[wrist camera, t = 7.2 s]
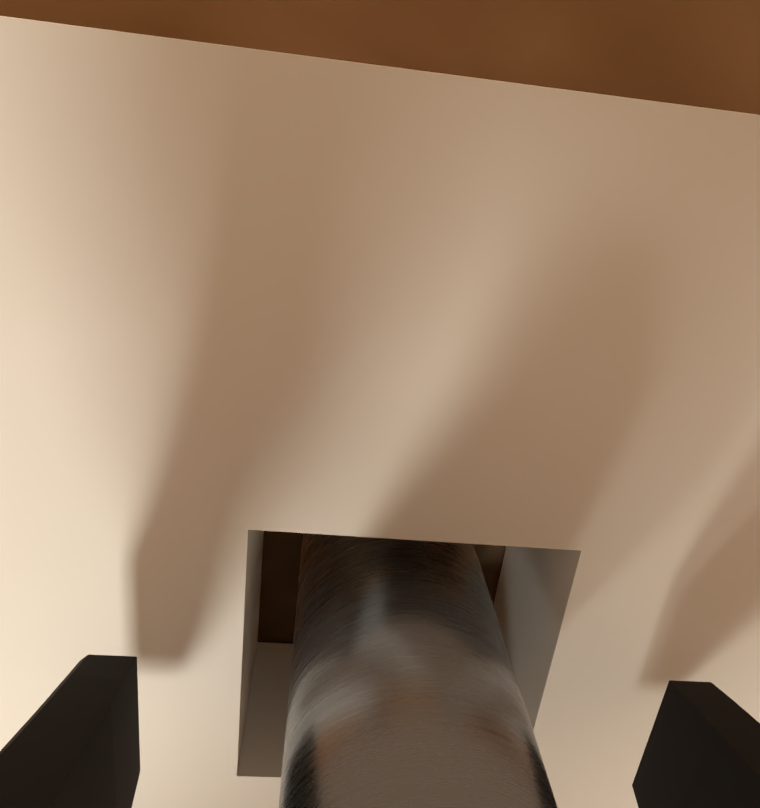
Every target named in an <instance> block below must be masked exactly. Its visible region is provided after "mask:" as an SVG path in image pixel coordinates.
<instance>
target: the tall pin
mask: <svg viewBox="0 0 760 808" xmlns="http://www.w3.org/2000/svg"><path fill="white" fill-rule="evenodd" d="M279 808H558V807H557V804H556V801H555V798H554V795H553V792H552V788H551V785H550V782H549V779H548V776H547V773H546V770H545V766H544V763H543V760H542V757H541V754H540V751H539V748H538V744H537V741H536V738H535V735H534V732H533V729H532V726H531V723H530V719H529V716H528V713H527V710H526V707H525V704H524V701H523V697H522V694H521V691H520V688H519V685H518V682H517V679H516V675H515V672H514V669H513V666H512V663H511V660H510V657H509V653H508V650H507V647H506V644H505V641H504V638H503V635H502V631H501V628H500V625H499V622H498V619H497V616H496V613H495V609H494V606H493V603H492V600H491V597H490V594H489V591H488V588H487V584H486V581H485V578H484V575H483V572H482V569H481V566H480V562H479V559H478V556H477V553H476V550H475V547H474V544H467V543H451V542H436V541H420V540H404V539H388V538H372V537H356V536H340V535H325V534H309V533H304V534H303V540H302V548H301V560H300V571H299V582H298V594H297V605H296V616H295V627H294V639H293V650H292V661H291V673H290V684H289V695H288V706H287V718H286V729H285V740H284V752H283V763H282V774H281V785H280V797H279Z"/></svg>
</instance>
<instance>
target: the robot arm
mask: <svg viewBox="0 0 760 808" xmlns="http://www.w3.org/2000/svg"><path fill="white" fill-rule="evenodd" d="M139 774H140V745H139V711H138V678H137V657H135V656H112V655H90V654H88V655H87V656H86V657H84V658H83V659H82V660H80V661H79V662H78V663H77V665H76V666H75V667H74V668H73V669H72V670H71V672H70V673H69V674H68V675H67V676H66V677H65V679H64V680H63V681H62V682H61V683H60V684H59V686H58V687H57V688H56V689H55V690H54V691H53V692H52V694H51V695H50V696H49V697H48V698H47V699H46V701H45V702H44V703H43V704H42V705H41V706H40V707H39V708H38V710H37V711H36V712H35V713H34V714H33V715H32V716H31V717H30V719H29V720H28V721H27V722H26V723H25V724H24V725H23V726H22V727H21V729H20V730H19V731H18V732H17V733H16V734H15V735H14V736H13V737H12V738H11V740H10V741H9V742H8V743H7V744H6V745H5V746H4V747H3V748H2V749H1V751H0V808H132V804H133V800H134V795H135V791H136V787H137V783H138V779H139ZM632 787H633V790H634V794H635V797H636V801H637V804H638V808H760V723H759V722H758V721H757V720H755V719H754V718H753V717H752V716H751V715H750V714H749V713H747V712H746V711H745V710H744V709H743V708H742V707H740V706H739V705H738V704H737V703H736V702H735V701H733V700H732V699H731V698H730V697H729V696H727V695H726V694H725V693H724V692H723V691H721V690H720V689H719V688H718V687H716V686H715V685H714V684H713V683H711V682H696V681H674V680H669V683H668V685H667V688H666V691H665V694H664V697H663V699H662V702H661V705H660V708H659V711H658V714H657V716H656V719H655V722H654V725H653V728H652V730H651V733H650V736H649V739H648V742H647V744H646V747H645V750H644V753H643V756H642V758H641V761H640V764H639V767H638V770H637V773H636V775H635V778H634V781H633V784H632Z"/></svg>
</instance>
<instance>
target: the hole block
mask: <svg viewBox="0 0 760 808" xmlns="http://www.w3.org/2000/svg"><path fill="white" fill-rule="evenodd" d="M264 531H277V532H293V533H309V534H325V535H340V536H356V537H372V538H388V539H404V540H420V541H436V542H451V543H467V544H483V545H499V546H506V549H505V554H504V558H503V563H502V568H501V572H500V577H499V581H498V586H497V591H496V595H495V600H494V604H493V606H494V609H495V613H496V616H497V619H498V622H499V625H500V628H501V631H502V635H503V638H504V641H505V644H506V647H507V650H508V653H509V657H510V660H511V663H512V666H513V669H514V672H515V675H516V679H517V682H518V685H519V688H520V691H521V694H522V697H523V701H524V704H525V707H526V710H527V713H528V716H529V719H530V723H531V726H532V729H533V732H534V735H535V738H536V741H537V744H538V748H539V751H540V754H541V757H542V760H543V763H544V766H545V770H546V773H547V776H548V779H549V782H550V785H551V788H552V792H553V795H554V798H555V801H556V804H557V807H558V808H638V804H637V801H636V797H635V794H634V790H633V787H632V784H633V781H634V778H635V775H636V773H637V770H638V767H639V764H640V761H641V758H642V756H643V753H644V750H645V747H646V744H647V742H648V739H649V736H650V733H651V730H652V728H653V725H654V722H655V719H656V716H657V714H658V711H659V708H660V705H661V702H662V699H663V697H664V694H665V691H666V688H667V685H668V683H669V680H674V681H696V682H711V683H713V684H714V685H715V686H716V687H718V688H719V689H720V690H721V691H723V692H724V693H725V694H726V695H727V696H729V697H730V698H731V699H732V700H733V701H735V702H736V703H737V704H738V705H739V706H740V707H742V708H743V709H744V710H745V711H746V712H747V713H749V714H750V715H751V716H752V717H753V718H754V719H755V720H757V721H758V722H759V723H760V115H758V114H750V113H742V112H735V111H727V110H719V109H712V108H704V107H696V106H689V105H681V104H673V103H666V102H658V101H650V100H643V99H635V98H627V97H620V96H612V95H604V94H597V93H589V92H581V91H574V90H566V89H558V88H551V87H543V86H535V85H528V84H520V83H512V82H505V81H497V80H489V79H482V78H474V77H466V76H459V75H451V74H443V73H436V72H428V71H420V70H413V69H405V68H397V67H390V66H382V65H374V64H367V63H359V62H351V61H344V60H336V59H328V58H321V57H313V56H305V55H298V54H290V53H282V52H275V51H267V50H259V49H252V48H244V47H236V46H229V45H221V44H213V43H206V42H198V41H190V40H183V39H175V38H167V37H160V36H152V35H144V34H137V33H129V32H121V31H114V30H106V29H98V28H91V27H83V26H75V25H68V24H60V23H53V22H45V21H37V20H30V19H22V18H14V17H7V16H0V751H1V749H2V748H3V747H4V746H5V745H6V744H7V743H8V742H9V741H10V740H11V738H12V737H13V736H14V735H15V734H16V733H17V732H18V731H19V730H20V729H21V727H22V726H23V725H24V724H25V723H26V722H27V721H28V720H29V719H30V717H31V716H32V715H33V714H34V713H35V712H36V711H37V710H38V708H39V707H40V706H41V705H42V704H43V703H44V702H45V701H46V699H47V698H48V697H49V696H50V695H51V694H52V692H53V691H54V690H55V689H56V688H57V687H58V686H59V684H60V683H61V682H62V681H63V680H64V679H65V677H66V676H67V675H68V674H69V673H70V672H71V670H72V669H73V668H74V667H75V666H76V665H77V663H78V662H79V661H80V660H82V659H83V658H84V657H86V656H87V655H88V654H90V655H112V656H135V657H137V678H138V711H139V745H140V774H139V779H138V783H137V787H136V791H135V795H134V800H133V804H132V808H279V797H280V785H281V774H282V763H283V752H284V740H285V729H286V718H287V706H288V695H289V684H290V673H291V661H292V650H293V644H288V643H267V642H258V626H259V608H260V590H261V571H262V553H263V535H264Z"/></svg>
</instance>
